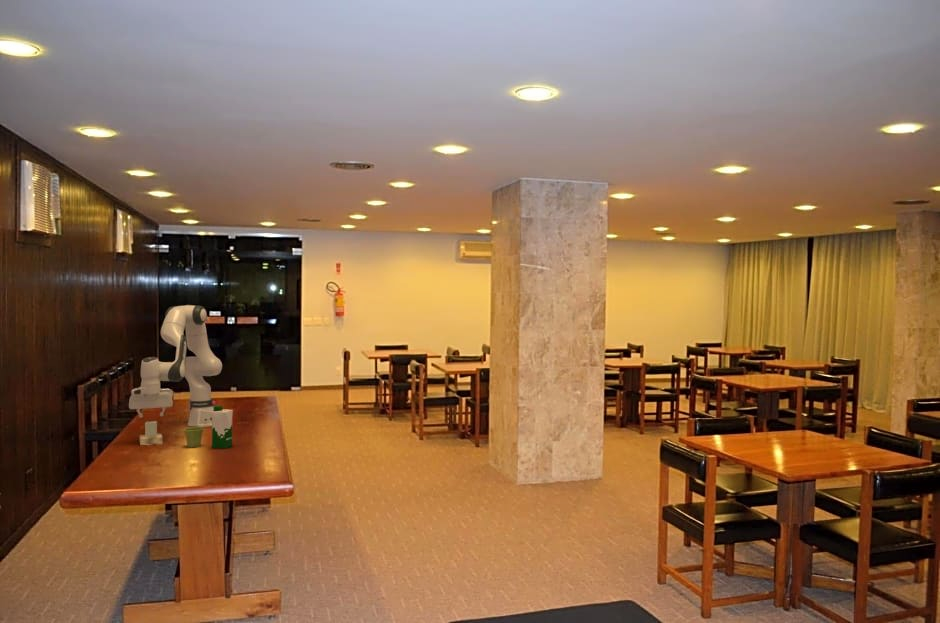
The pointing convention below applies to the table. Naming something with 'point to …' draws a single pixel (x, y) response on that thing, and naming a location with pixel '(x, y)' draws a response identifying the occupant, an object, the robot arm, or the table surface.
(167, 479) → the table surface
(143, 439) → the birch block
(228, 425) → the milk carton
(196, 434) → the plant pot
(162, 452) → the table surface
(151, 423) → the sage block
